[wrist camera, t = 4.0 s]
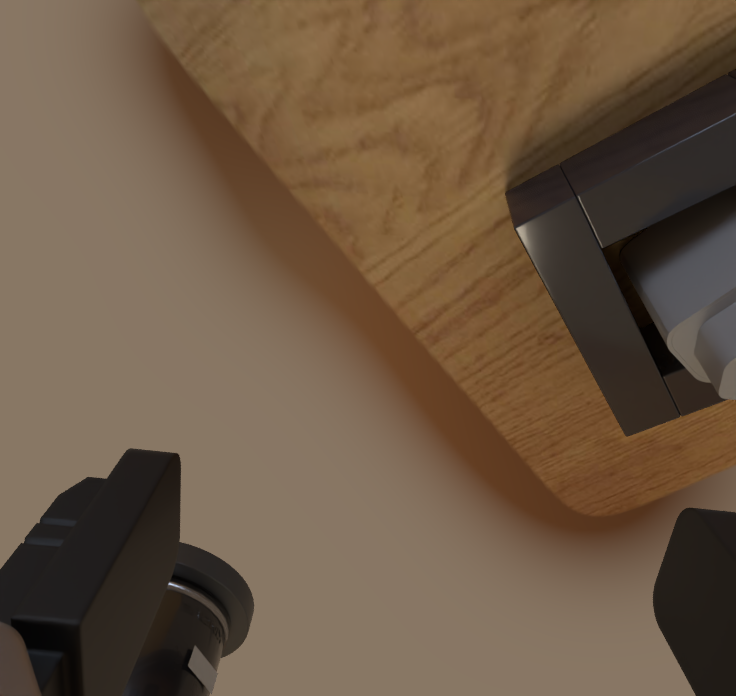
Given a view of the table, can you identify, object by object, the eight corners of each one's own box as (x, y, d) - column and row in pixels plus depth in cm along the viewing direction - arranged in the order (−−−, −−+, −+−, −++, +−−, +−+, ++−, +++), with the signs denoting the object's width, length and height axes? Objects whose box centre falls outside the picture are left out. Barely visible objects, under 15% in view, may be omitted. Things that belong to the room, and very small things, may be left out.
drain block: (607, 386, 33) (626, 437, 30) (504, 192, 28) (513, 227, 25) (864, 283, 29) (919, 329, 26) (795, 35, 24) (853, 52, 21)
